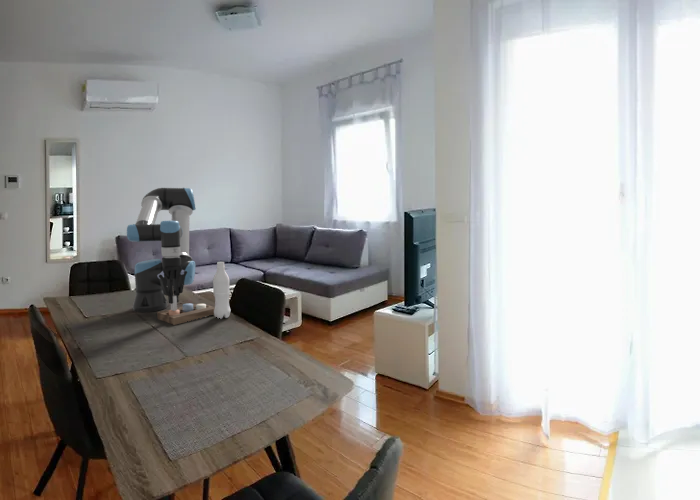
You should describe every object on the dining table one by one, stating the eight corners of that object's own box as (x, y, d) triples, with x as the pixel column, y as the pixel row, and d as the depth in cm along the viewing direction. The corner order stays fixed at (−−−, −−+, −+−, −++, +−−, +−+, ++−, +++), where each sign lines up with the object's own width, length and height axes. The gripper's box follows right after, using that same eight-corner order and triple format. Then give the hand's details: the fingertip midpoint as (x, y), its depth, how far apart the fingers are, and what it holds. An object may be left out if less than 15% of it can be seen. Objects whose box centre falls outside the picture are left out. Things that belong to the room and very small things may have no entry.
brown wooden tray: (157, 318, 182) (157, 312, 182) (200, 309, 199) (200, 303, 198) (174, 324, 174) (173, 318, 173) (217, 314, 190) (217, 307, 189)
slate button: (180, 313, 186) (180, 304, 185) (190, 311, 189) (189, 302, 188) (186, 315, 183) (185, 306, 182) (195, 313, 186) (194, 304, 186)
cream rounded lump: (194, 313, 191) (193, 305, 190) (202, 311, 194) (202, 303, 194) (199, 315, 188) (199, 306, 188) (208, 313, 191) (207, 304, 191)
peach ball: (167, 319, 181) (166, 310, 180) (176, 317, 184) (176, 308, 184) (172, 321, 178) (171, 312, 177) (181, 319, 181) (181, 310, 181)
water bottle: (233, 315, 188) (231, 261, 185) (227, 319, 181) (225, 263, 178) (218, 314, 189) (216, 260, 186) (211, 319, 182) (209, 263, 179)
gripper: (160, 259, 170) (163, 314, 173) (190, 255, 180) (192, 308, 183) (152, 257, 175) (155, 311, 178) (181, 254, 185) (183, 305, 188)
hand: (174, 310), depth 180 cm, fingers closed
